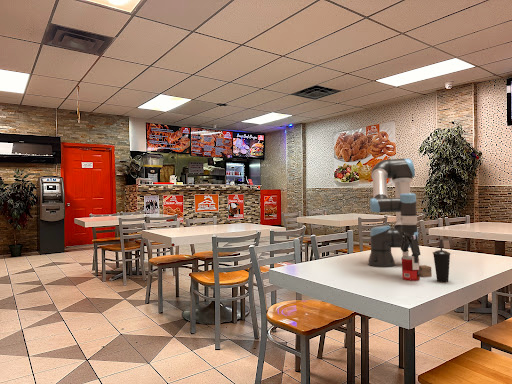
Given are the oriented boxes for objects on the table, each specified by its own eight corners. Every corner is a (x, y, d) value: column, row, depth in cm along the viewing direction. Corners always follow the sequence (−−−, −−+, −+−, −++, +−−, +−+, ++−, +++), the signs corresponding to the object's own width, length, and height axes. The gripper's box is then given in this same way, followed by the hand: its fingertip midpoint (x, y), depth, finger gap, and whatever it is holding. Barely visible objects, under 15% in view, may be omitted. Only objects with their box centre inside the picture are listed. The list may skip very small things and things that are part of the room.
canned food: (421, 281, 172) (420, 258, 173) (404, 280, 174) (403, 258, 174) (417, 277, 180) (416, 255, 180) (401, 277, 181) (400, 255, 182)
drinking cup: (430, 280, 173) (428, 239, 174) (441, 278, 176) (440, 238, 176) (443, 283, 166) (441, 241, 166) (455, 282, 169) (453, 239, 169)
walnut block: (416, 275, 185) (416, 265, 185) (425, 274, 186) (424, 265, 186) (422, 277, 180) (422, 267, 180) (431, 276, 181) (431, 266, 181)
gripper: (393, 223, 190) (394, 262, 189) (410, 226, 165) (412, 271, 164) (407, 222, 189) (409, 262, 189) (426, 225, 165) (428, 271, 164)
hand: (410, 267), depth 177 cm, fingers open, 13 cm apart
